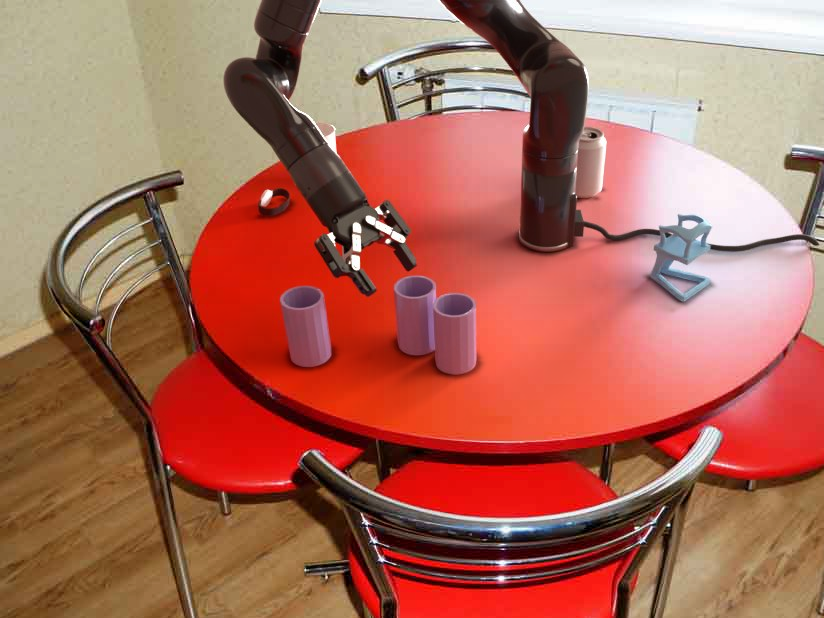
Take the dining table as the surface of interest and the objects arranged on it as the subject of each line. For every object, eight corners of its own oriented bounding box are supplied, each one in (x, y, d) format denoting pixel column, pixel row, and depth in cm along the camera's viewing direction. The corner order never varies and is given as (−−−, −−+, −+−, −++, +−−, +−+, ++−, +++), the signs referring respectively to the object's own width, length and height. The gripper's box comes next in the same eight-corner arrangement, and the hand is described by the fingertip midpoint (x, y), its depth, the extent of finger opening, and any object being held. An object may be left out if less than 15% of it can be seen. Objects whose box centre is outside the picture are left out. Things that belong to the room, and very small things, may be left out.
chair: (668, 264, 144) (678, 200, 137) (710, 283, 140) (723, 218, 132) (641, 282, 140) (650, 217, 132) (683, 302, 135) (695, 236, 128)
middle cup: (438, 331, 129) (435, 274, 122) (438, 354, 124) (435, 297, 118) (398, 332, 128) (394, 275, 122) (397, 356, 124) (393, 298, 118)
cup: (475, 348, 125) (475, 292, 119) (477, 374, 121) (476, 316, 115) (435, 350, 125) (432, 293, 119) (435, 375, 120) (432, 317, 114)
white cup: (306, 191, 163) (299, 141, 157) (294, 174, 169) (287, 126, 162) (346, 183, 166) (340, 134, 160) (332, 167, 172) (327, 119, 165)
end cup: (333, 342, 126) (325, 285, 120) (329, 366, 122) (321, 309, 115) (293, 343, 126) (283, 286, 120) (287, 367, 121) (277, 310, 115)
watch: (276, 197, 161) (273, 179, 159) (297, 202, 160) (294, 184, 158) (252, 215, 156) (249, 197, 153) (274, 220, 154) (271, 202, 152)
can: (603, 200, 162) (609, 140, 154) (563, 199, 162) (567, 140, 154) (600, 182, 168) (605, 124, 160) (562, 181, 168) (566, 123, 160)
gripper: (300, 192, 113) (370, 293, 115) (374, 155, 122) (438, 250, 124) (279, 215, 119) (346, 312, 121) (351, 179, 128) (412, 270, 130)
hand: (393, 281), depth 122 cm, fingers open, 8 cm apart
